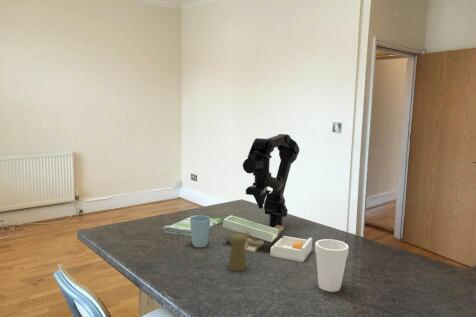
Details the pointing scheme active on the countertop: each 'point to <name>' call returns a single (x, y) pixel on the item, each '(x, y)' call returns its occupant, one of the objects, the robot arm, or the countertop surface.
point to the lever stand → (252, 243)
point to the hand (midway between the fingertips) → (260, 208)
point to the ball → (297, 245)
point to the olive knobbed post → (237, 253)
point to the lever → (252, 228)
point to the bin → (291, 249)
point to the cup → (200, 230)
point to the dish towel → (188, 226)
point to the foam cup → (330, 263)
